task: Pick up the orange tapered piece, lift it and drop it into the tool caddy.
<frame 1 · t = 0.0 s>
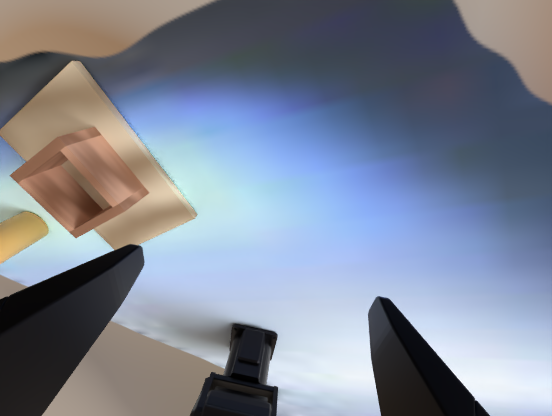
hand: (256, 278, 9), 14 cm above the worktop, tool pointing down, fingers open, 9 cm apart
orange tapered piece: (33, 224, 30), on the worktop
tool caddy: (105, 174, 25), on the worktop
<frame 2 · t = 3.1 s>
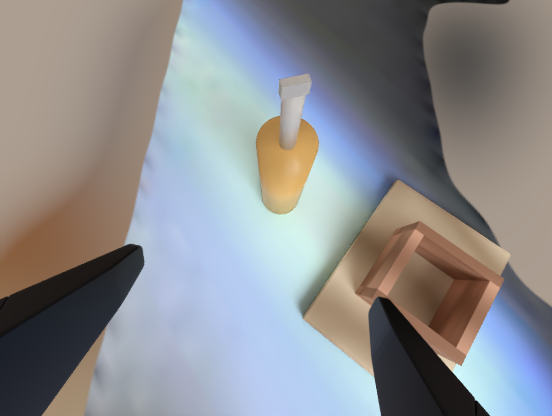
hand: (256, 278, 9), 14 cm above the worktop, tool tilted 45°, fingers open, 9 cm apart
orange tapered piece: (280, 196, 24), on the worktop
tool caddy: (406, 285, 22), on the worktop
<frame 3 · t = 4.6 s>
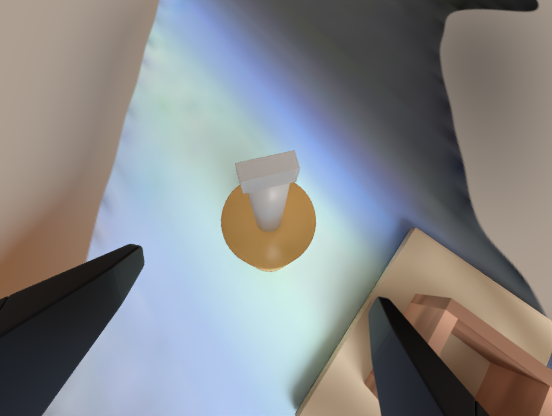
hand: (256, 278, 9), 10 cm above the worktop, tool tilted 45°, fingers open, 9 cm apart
orange tapered piece: (269, 248, 19), on the worktop
tool caddy: (429, 367, 17), on the worktop
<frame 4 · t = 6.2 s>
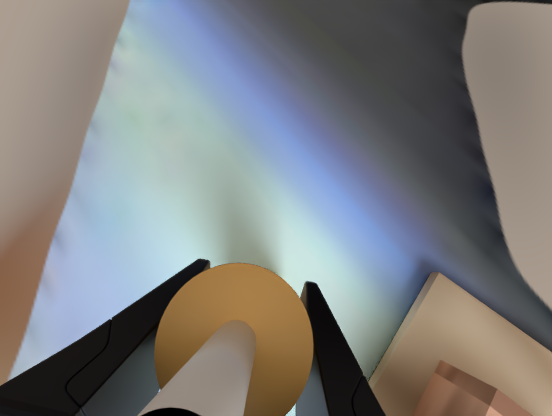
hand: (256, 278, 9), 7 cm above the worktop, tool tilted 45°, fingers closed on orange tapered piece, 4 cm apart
orange tapered piece: (257, 297, 16), on the worktop, touching gripper
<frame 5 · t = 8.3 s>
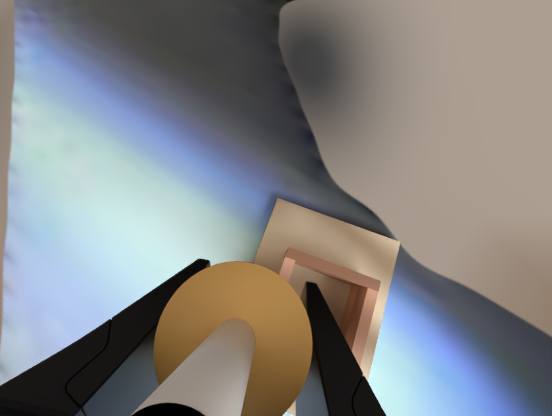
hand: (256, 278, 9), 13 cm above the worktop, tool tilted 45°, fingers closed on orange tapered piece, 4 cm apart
orange tapered piece: (257, 297, 16), point 6 cm above the worktop, touching gripper
tool caddy: (309, 304, 22), on the worktop
when the fingers open (9 cm above the worktop, at t = 10.3 s): orange tapered piece drops 1 cm, resting on tool caddy.
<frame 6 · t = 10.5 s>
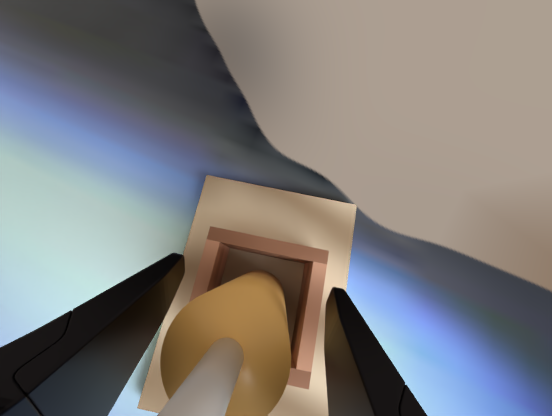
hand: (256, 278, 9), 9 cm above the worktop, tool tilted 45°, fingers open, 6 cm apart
orange tapered piece: (258, 296, 17), point 1 cm above the worktop, touching tool caddy
tool caddy: (259, 294, 18), on the worktop
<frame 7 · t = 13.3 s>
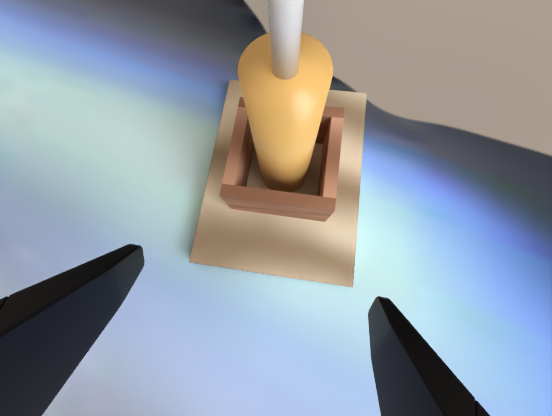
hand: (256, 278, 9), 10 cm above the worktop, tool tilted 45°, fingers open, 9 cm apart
orange tapered piece: (284, 172, 19), point 1 cm above the worktop, touching tool caddy
tool caddy: (284, 175, 20), on the worktop
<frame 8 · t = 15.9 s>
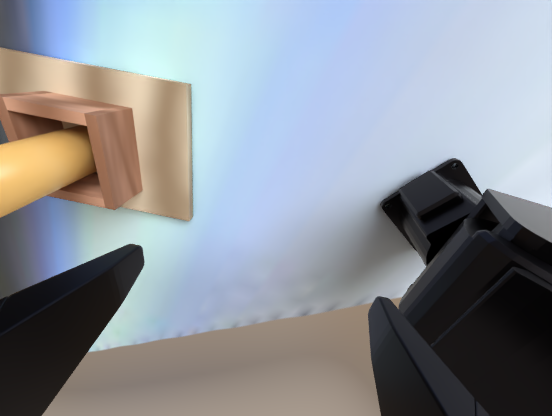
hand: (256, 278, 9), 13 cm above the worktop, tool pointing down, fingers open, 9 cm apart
orange tapered piece: (97, 144, 21), point 1 cm above the worktop, touching tool caddy
tool caddy: (104, 142, 22), on the worktop
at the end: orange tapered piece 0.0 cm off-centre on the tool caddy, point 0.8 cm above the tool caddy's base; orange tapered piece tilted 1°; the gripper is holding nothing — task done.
